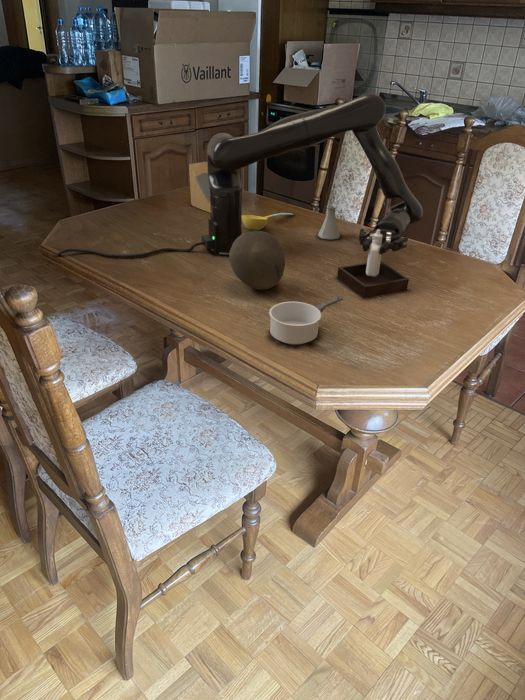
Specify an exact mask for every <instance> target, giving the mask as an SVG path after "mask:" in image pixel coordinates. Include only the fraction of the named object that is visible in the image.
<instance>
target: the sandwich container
mask: <svg viewBox="0 0 525 700" xmlns="http://www.w3.org/2000/svg"><path fill="white" fill-rule="evenodd" d="M188 169H189V171H188V172H189V187H190V205H191V206H193V207H195V208H197V209H200V210H202V211H204V212H206V213H210V186H209V181H208V166H207V161H201V162H194V163H189V165H188Z"/></svg>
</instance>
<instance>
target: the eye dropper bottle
mask: <svg viewBox="0 0 525 700" xmlns="http://www.w3.org/2000/svg"><path fill="white" fill-rule="evenodd" d="M382 236H383V235H382V234H380V230H379V229H377V232H376V233H375V234H373V239H372V243H371V244H370V246H369V249H368V254H367V261H366V263H367V267H366V275H367V276H372V277H375V276H377V275H378V274H379V269H380V262H382V257H383V256H382V255H383V254H382V255H381V254H379V252H380V247H381V245H382V244H381V243H382Z"/></svg>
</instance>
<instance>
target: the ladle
mask: <svg viewBox="0 0 525 700" xmlns="http://www.w3.org/2000/svg"><path fill="white" fill-rule="evenodd" d="M278 216H294V213H292V212H291V213H289V212H279V213H274V214H270V215H266V216H259V215H253V214H242V225H243V226H244V227H245V228H246V229H248V230H249V231H262V229H264V228H265V227H266V226H267V224H268V220H269V219H270V218H273V217H278Z"/></svg>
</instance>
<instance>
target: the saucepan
mask: <svg viewBox="0 0 525 700" xmlns="http://www.w3.org/2000/svg"><path fill="white" fill-rule="evenodd" d="M343 300H344V297H343V296H337V297H334V298H332V299H329V300H327V301H324V302H323V303H320V304H318V305H316V306H314V305H312V304H309V303H307V302H302V301H284V302H283V301H282V302H280V303H276V304H274V305H273V306H271V308H270V309H269V310H268V315H269V317H270V327H269V333H270V335H271V336H272V337H273V338H274V339H275V340H278V341H280V342H282V343H284V344H287V345H302V344H303V345H304V344H306V343H309V342H311V341H314V340H315V339H316V338H317V336H318V334H319V323H320V320H321V318H322V313H323V312H324V310H326V308H327V307H329V306H332V305H335V304H338V303H339V302H341V301H343Z"/></svg>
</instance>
